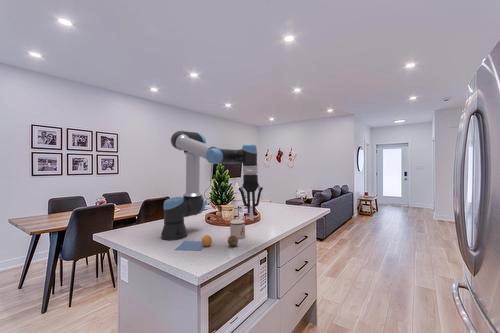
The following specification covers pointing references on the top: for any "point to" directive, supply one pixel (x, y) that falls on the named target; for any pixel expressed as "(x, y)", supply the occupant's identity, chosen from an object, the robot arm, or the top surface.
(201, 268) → the top surface
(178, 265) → the top surface
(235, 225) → the teacup with lid
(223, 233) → the top surface
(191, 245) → the mark
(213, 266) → the top surface
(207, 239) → the orange ball
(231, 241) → the walnut ball
